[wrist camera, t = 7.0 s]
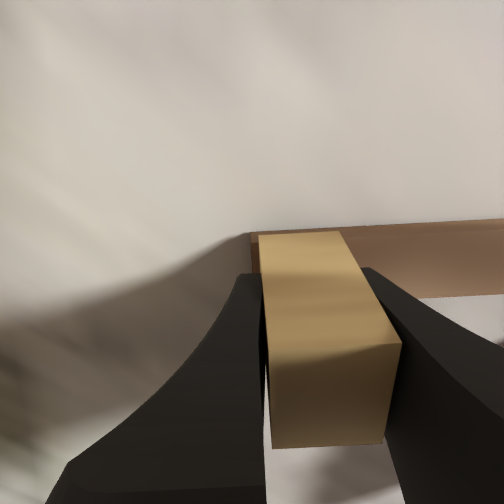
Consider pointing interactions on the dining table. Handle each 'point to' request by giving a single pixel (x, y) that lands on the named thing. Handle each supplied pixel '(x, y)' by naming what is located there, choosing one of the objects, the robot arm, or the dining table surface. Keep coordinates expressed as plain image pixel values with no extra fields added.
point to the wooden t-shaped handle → (354, 317)
